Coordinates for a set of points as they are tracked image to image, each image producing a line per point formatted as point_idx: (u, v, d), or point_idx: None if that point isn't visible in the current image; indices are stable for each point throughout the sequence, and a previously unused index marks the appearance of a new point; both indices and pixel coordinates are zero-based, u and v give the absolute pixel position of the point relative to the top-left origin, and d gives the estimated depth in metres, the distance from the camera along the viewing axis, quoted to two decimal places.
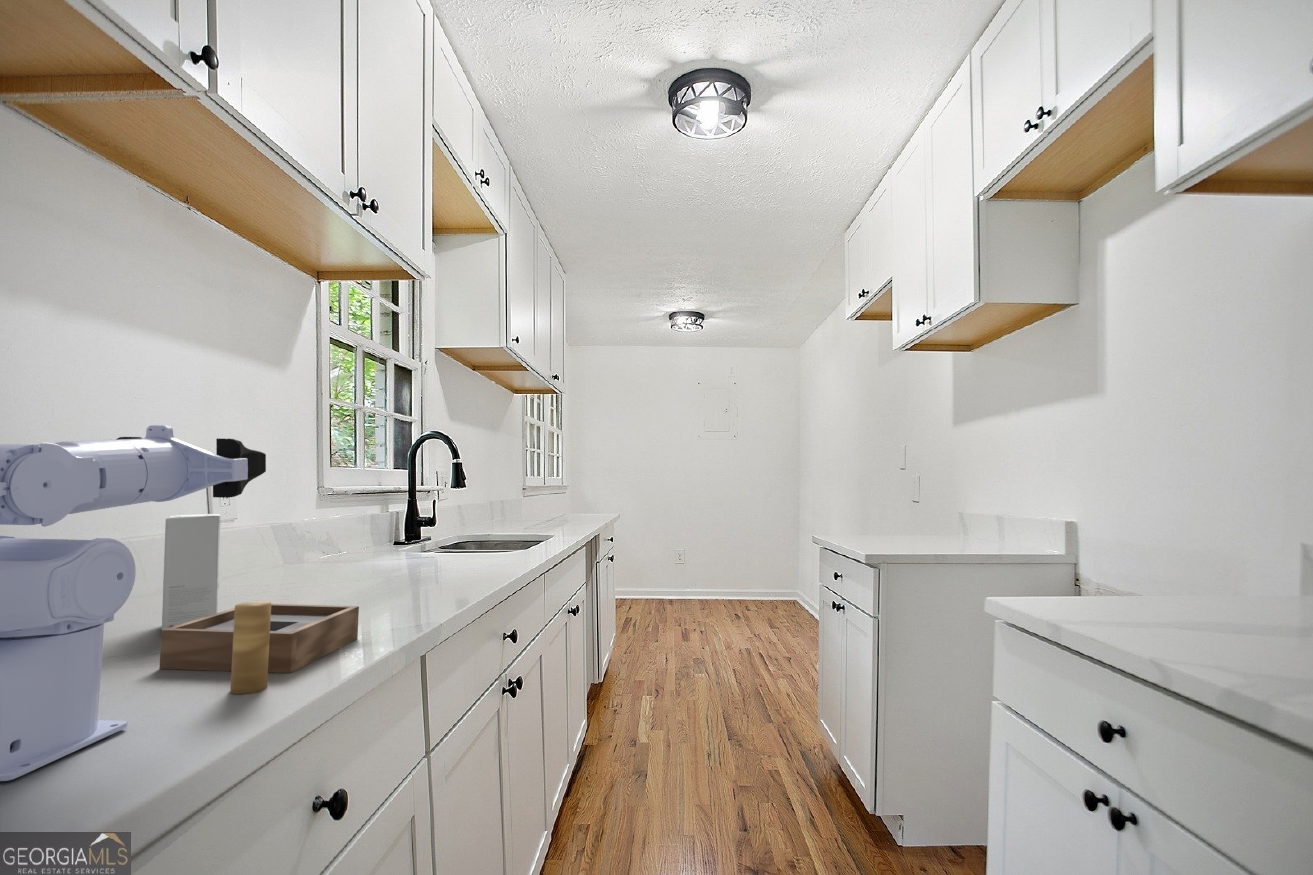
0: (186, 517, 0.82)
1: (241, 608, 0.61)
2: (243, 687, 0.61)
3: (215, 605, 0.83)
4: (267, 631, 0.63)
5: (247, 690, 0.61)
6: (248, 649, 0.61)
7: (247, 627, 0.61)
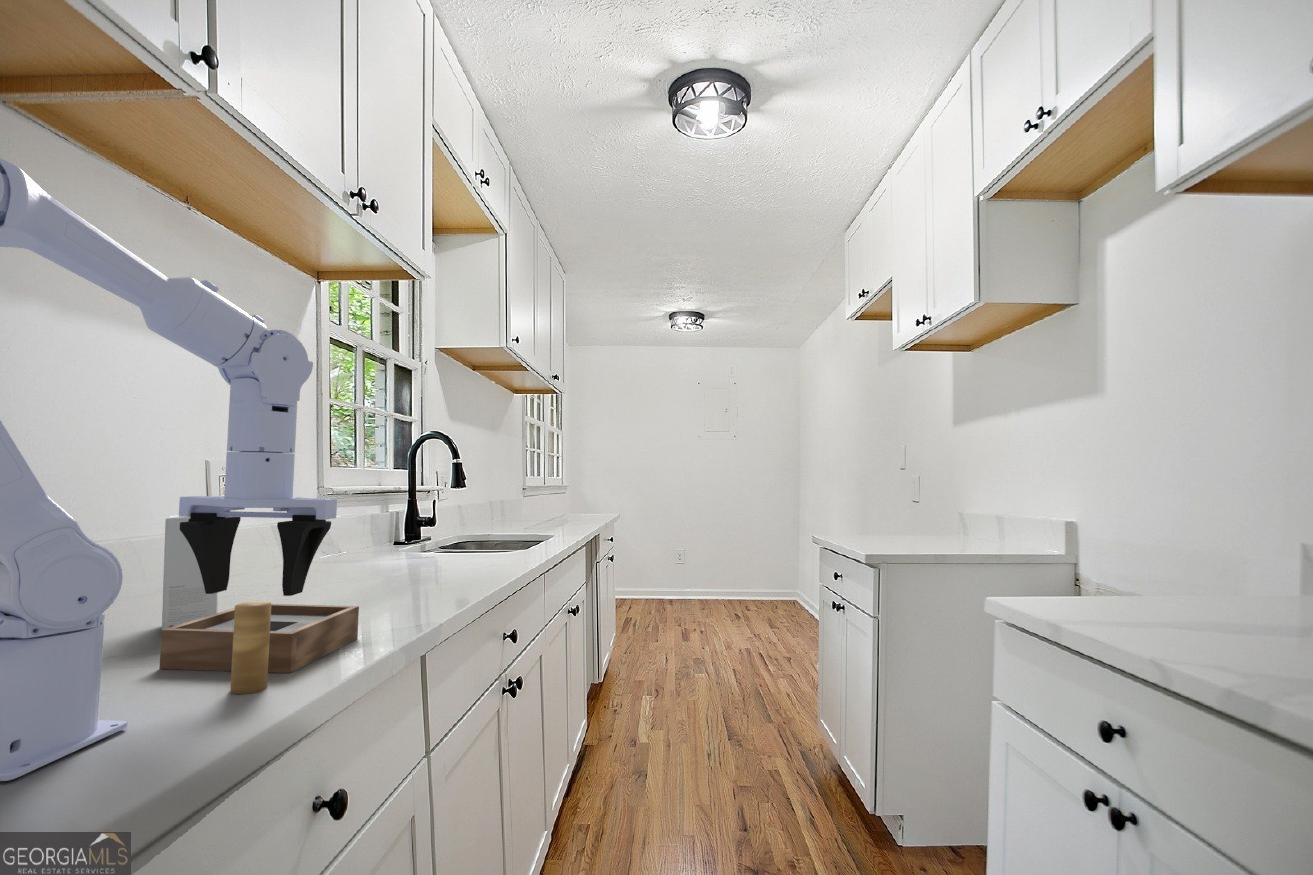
0: (186, 517, 0.82)
1: (241, 608, 0.61)
2: (243, 687, 0.61)
3: (215, 605, 0.83)
4: (267, 631, 0.63)
5: (247, 690, 0.61)
6: (248, 649, 0.61)
7: (247, 627, 0.61)
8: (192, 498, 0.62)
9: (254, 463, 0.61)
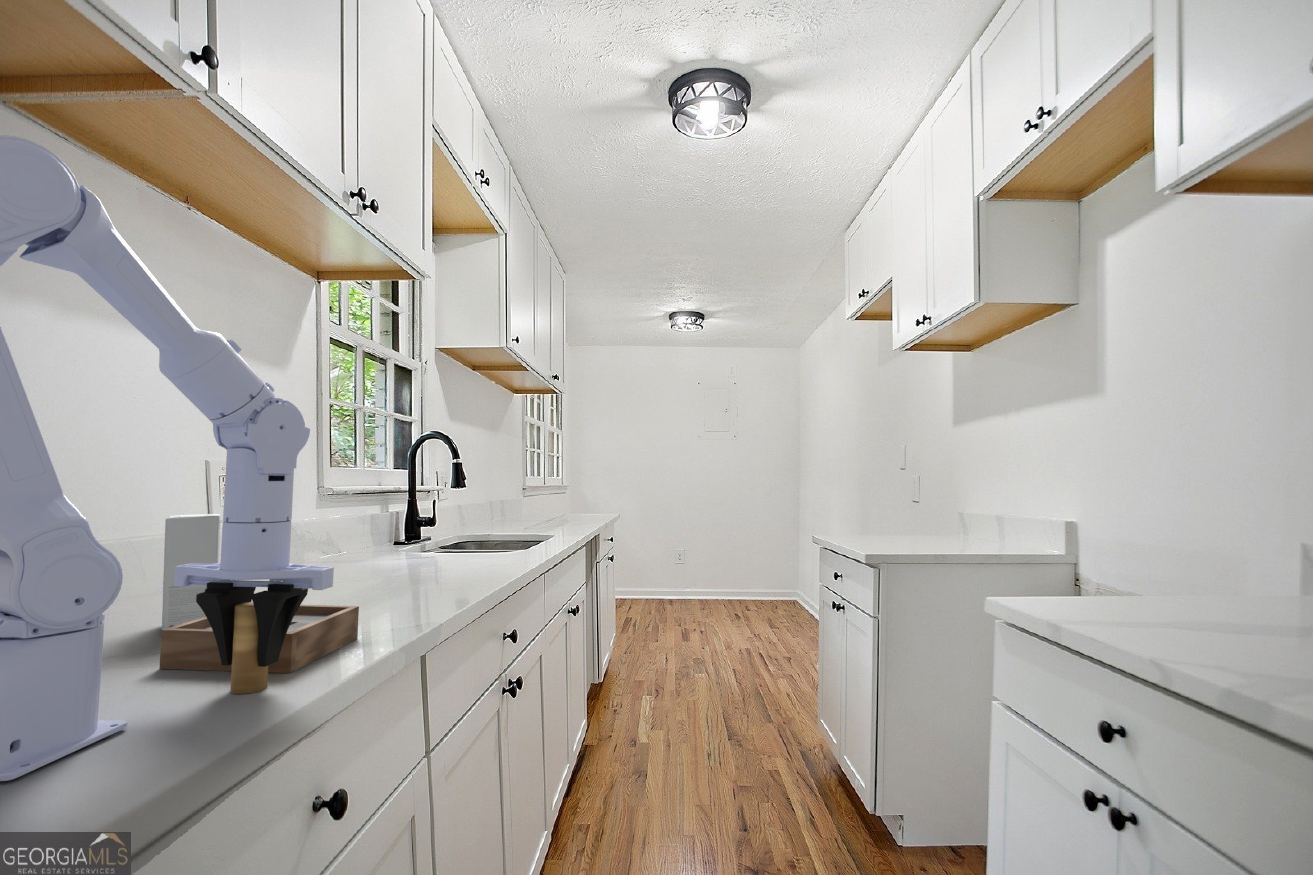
0: (186, 517, 0.82)
1: (241, 608, 0.61)
2: (243, 687, 0.61)
3: None
4: None
5: (247, 690, 0.61)
6: (248, 649, 0.61)
7: (247, 627, 0.61)
8: (188, 568, 0.62)
9: (250, 534, 0.60)
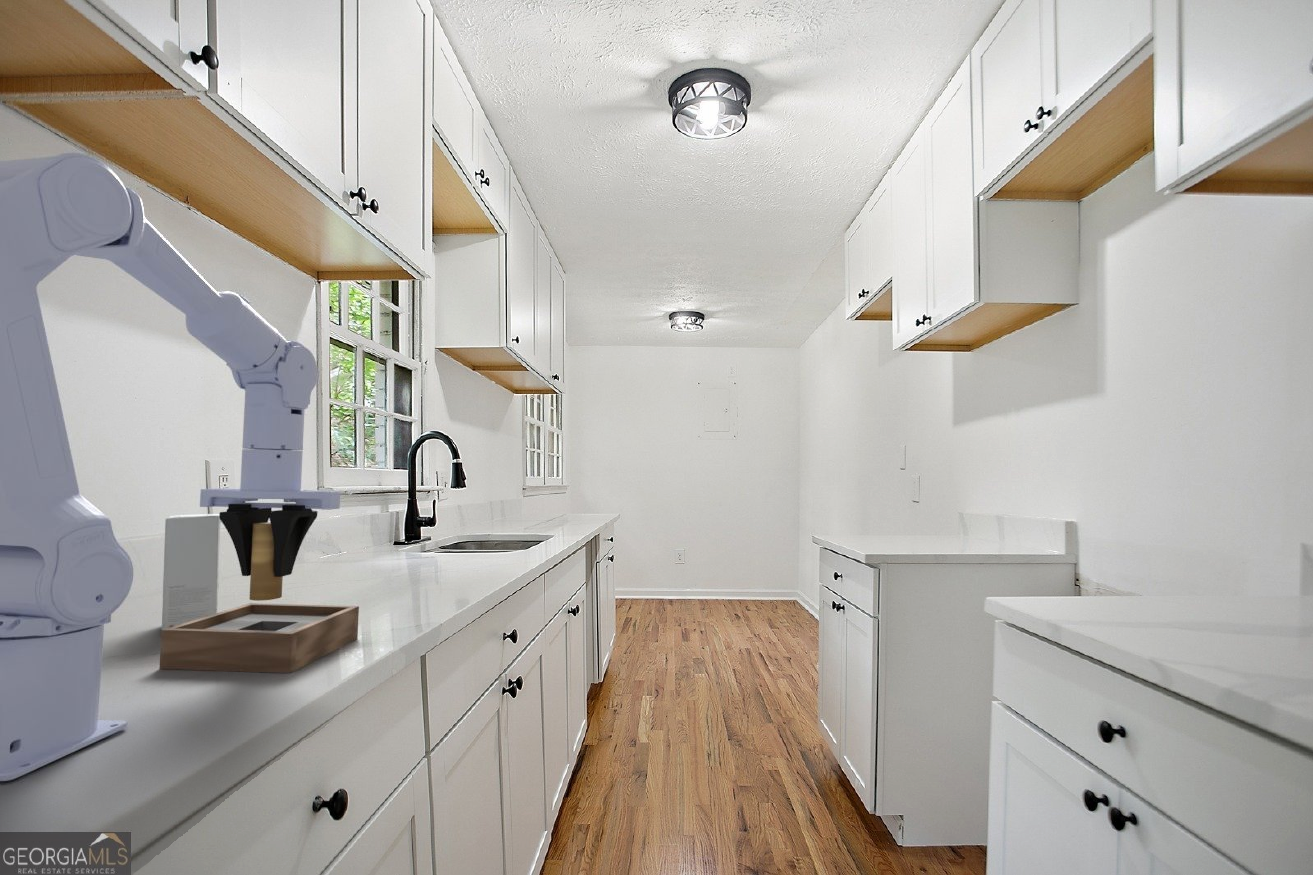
0: (186, 517, 0.82)
1: (259, 525, 0.69)
2: (261, 594, 0.69)
3: (215, 605, 0.83)
4: None
5: (265, 597, 0.69)
6: (265, 561, 0.69)
7: (265, 542, 0.69)
8: (212, 490, 0.70)
9: (267, 459, 0.68)
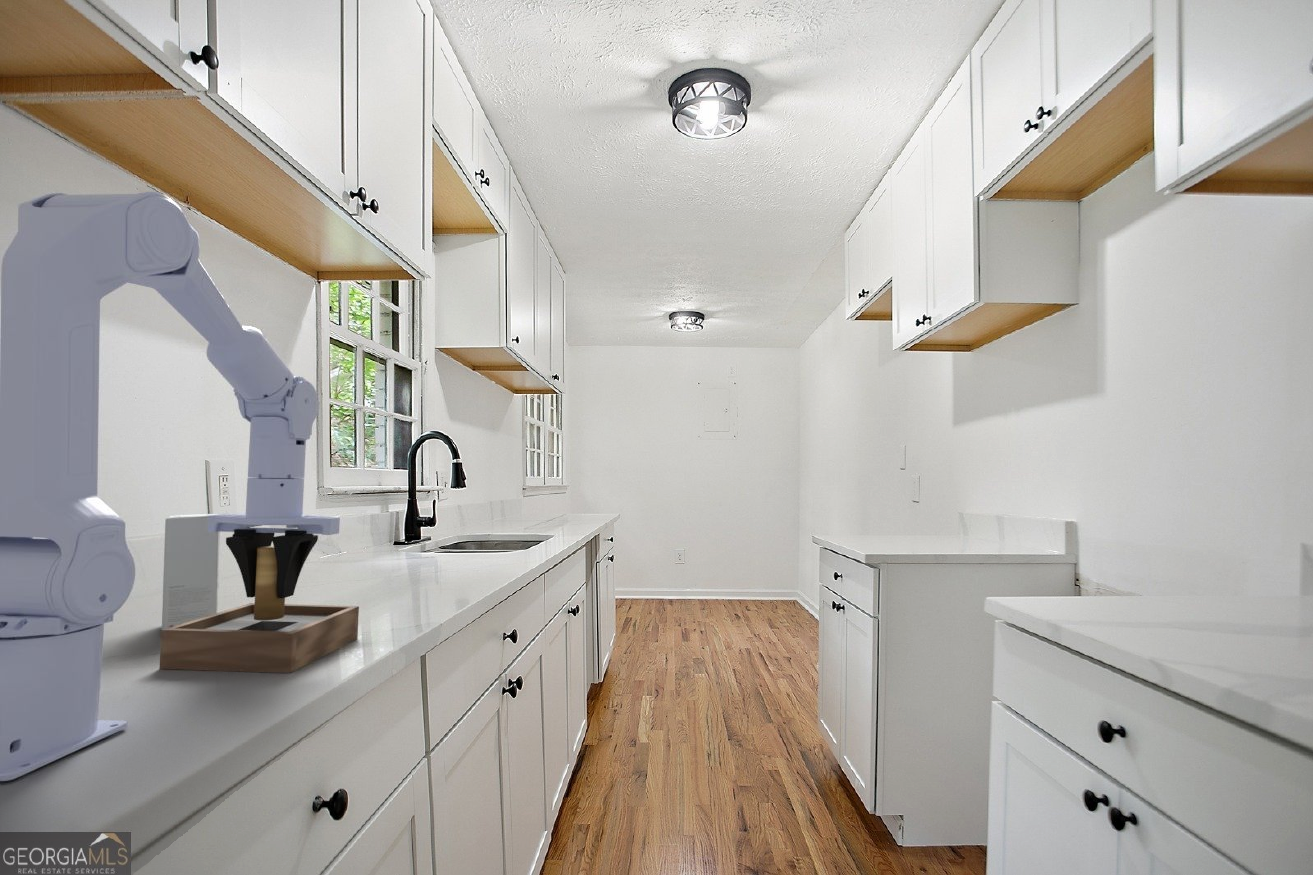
0: (186, 517, 0.82)
1: (263, 549, 0.74)
2: (265, 615, 0.73)
3: (215, 605, 0.83)
4: None
5: (268, 617, 0.73)
6: (269, 583, 0.73)
7: (269, 565, 0.74)
8: (218, 516, 0.74)
9: (271, 488, 0.73)
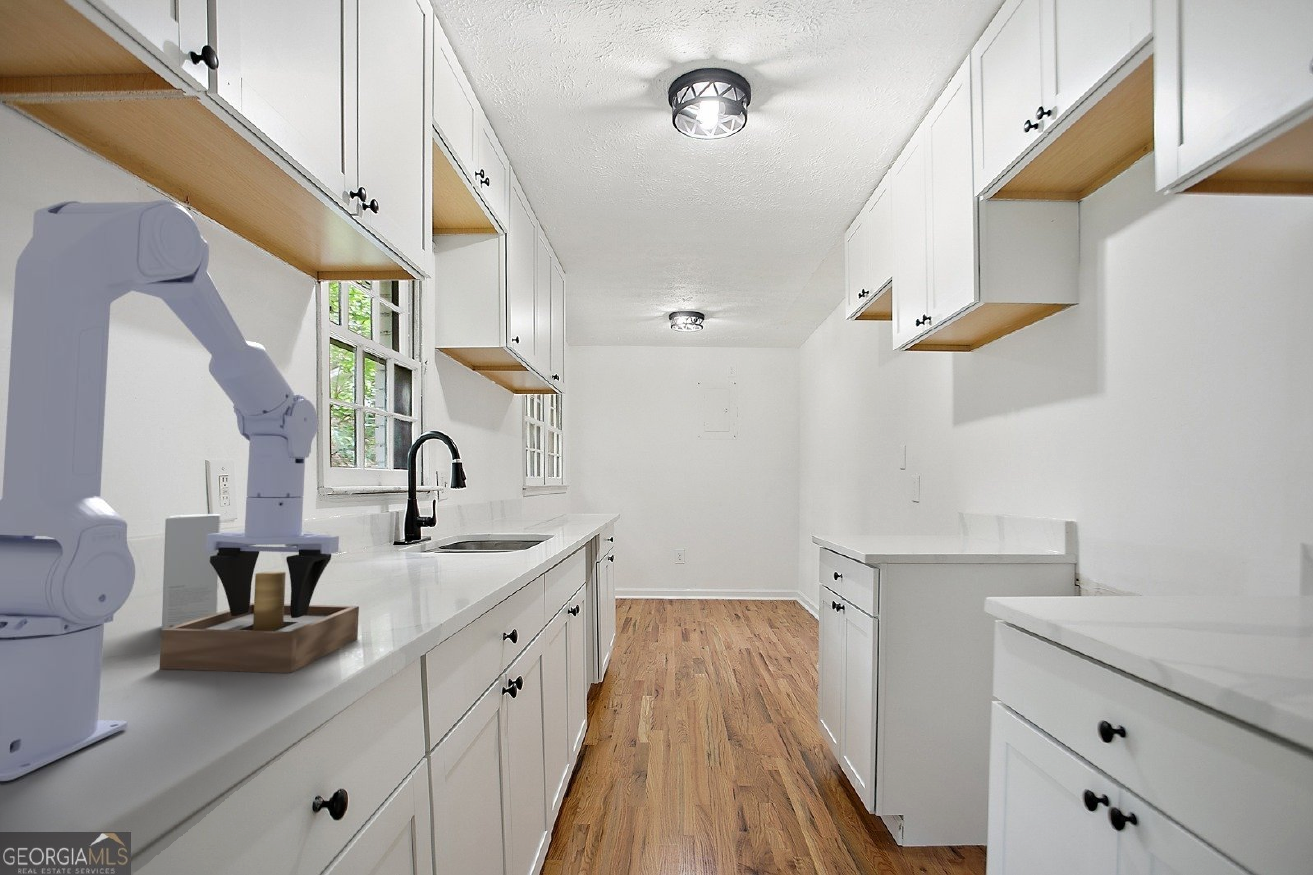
0: (186, 517, 0.82)
1: (261, 576, 0.73)
2: None
3: (215, 605, 0.83)
4: (283, 595, 0.75)
5: None
6: (268, 610, 0.73)
7: (267, 592, 0.73)
8: (217, 535, 0.74)
9: (270, 507, 0.73)
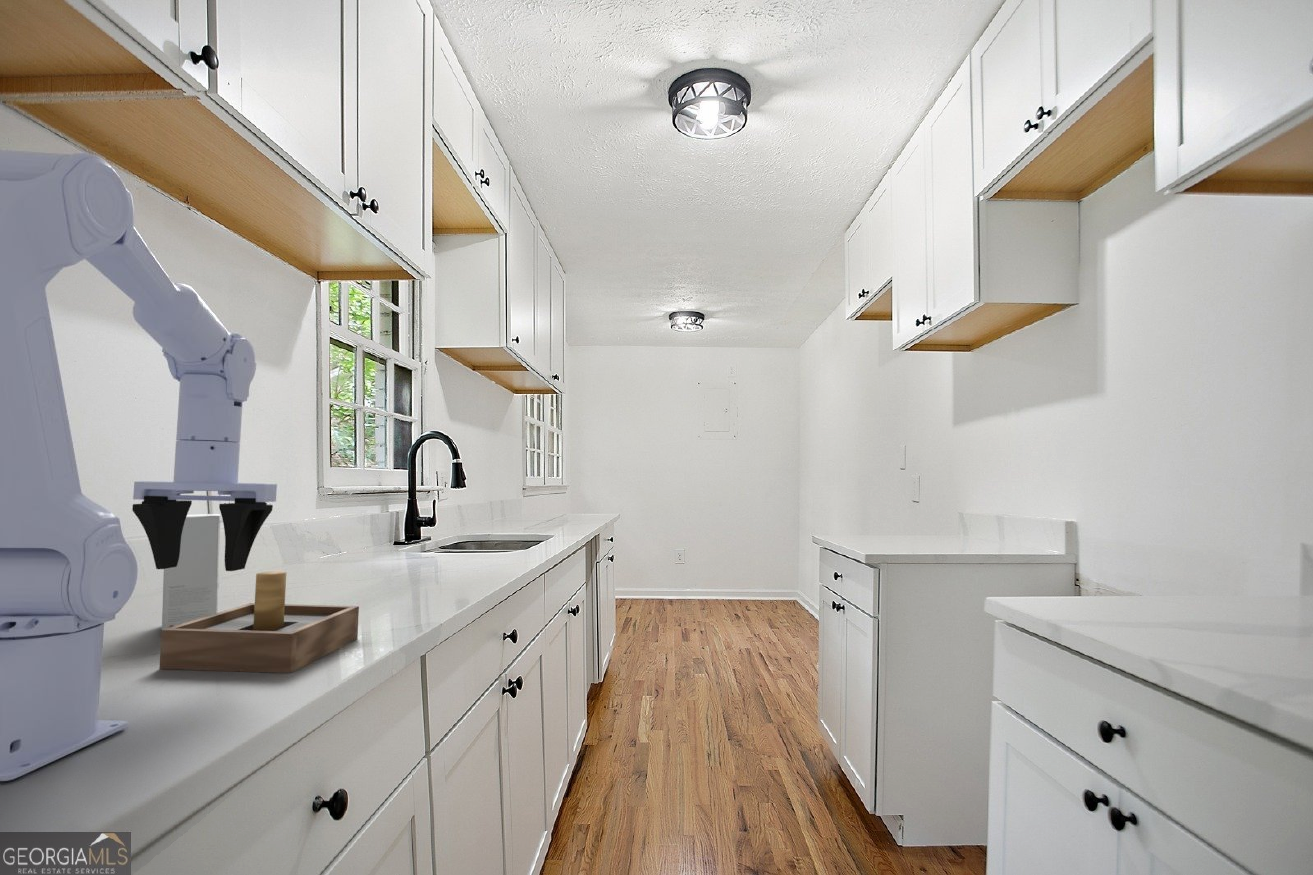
0: (186, 517, 0.82)
1: (262, 575, 0.73)
2: None
3: (215, 605, 0.83)
4: (283, 595, 0.75)
5: None
6: (268, 610, 0.73)
7: (267, 592, 0.73)
8: (145, 483, 0.69)
9: (199, 450, 0.67)
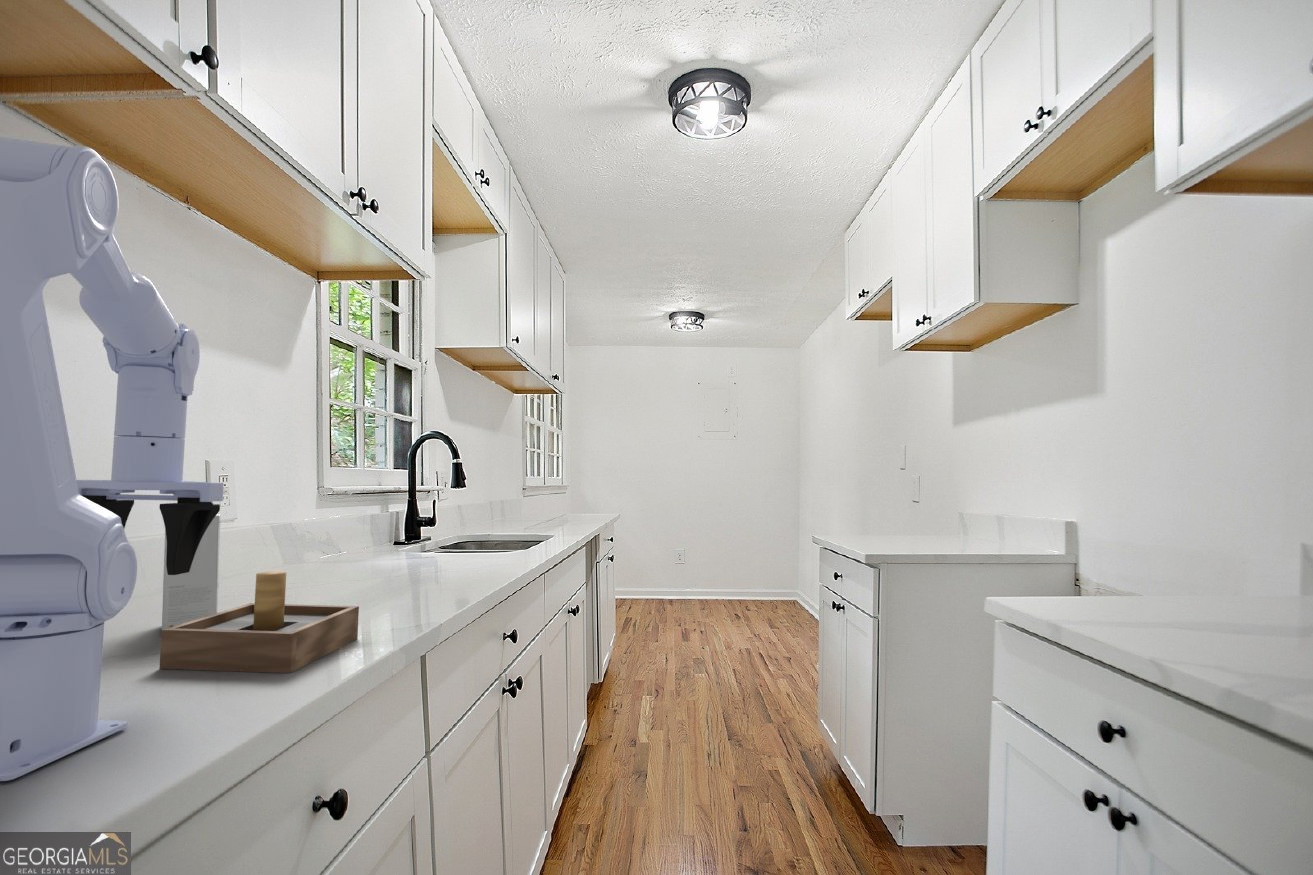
0: None
1: (262, 575, 0.73)
2: None
3: (215, 605, 0.83)
4: (283, 595, 0.75)
5: None
6: (268, 610, 0.73)
7: (267, 592, 0.73)
8: (81, 481, 0.65)
9: (138, 447, 0.63)
